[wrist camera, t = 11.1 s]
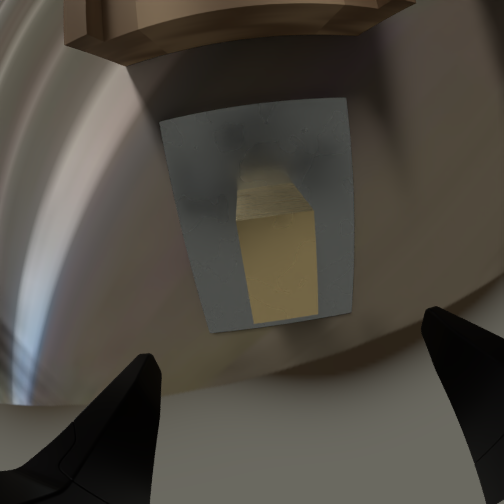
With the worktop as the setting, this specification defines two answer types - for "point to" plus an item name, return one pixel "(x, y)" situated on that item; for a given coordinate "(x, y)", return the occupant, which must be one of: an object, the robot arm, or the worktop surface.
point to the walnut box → (208, 23)
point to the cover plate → (254, 162)
